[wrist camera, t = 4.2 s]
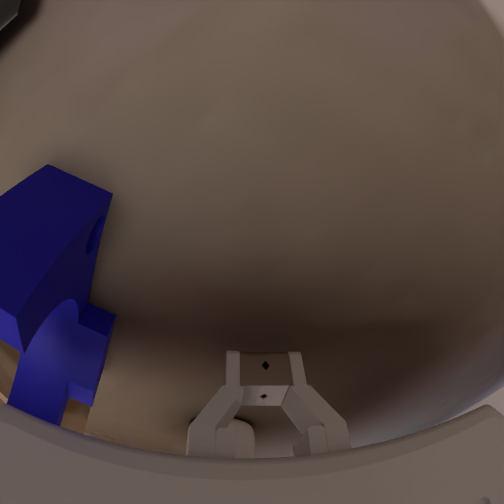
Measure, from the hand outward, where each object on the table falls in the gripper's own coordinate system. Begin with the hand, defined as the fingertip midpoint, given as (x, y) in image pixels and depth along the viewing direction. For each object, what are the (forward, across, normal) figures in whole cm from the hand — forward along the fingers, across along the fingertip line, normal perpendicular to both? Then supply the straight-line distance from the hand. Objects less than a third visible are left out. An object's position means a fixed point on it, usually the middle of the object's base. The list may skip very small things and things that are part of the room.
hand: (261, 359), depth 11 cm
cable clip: (+2, +9, -1) cm, 9 cm away
